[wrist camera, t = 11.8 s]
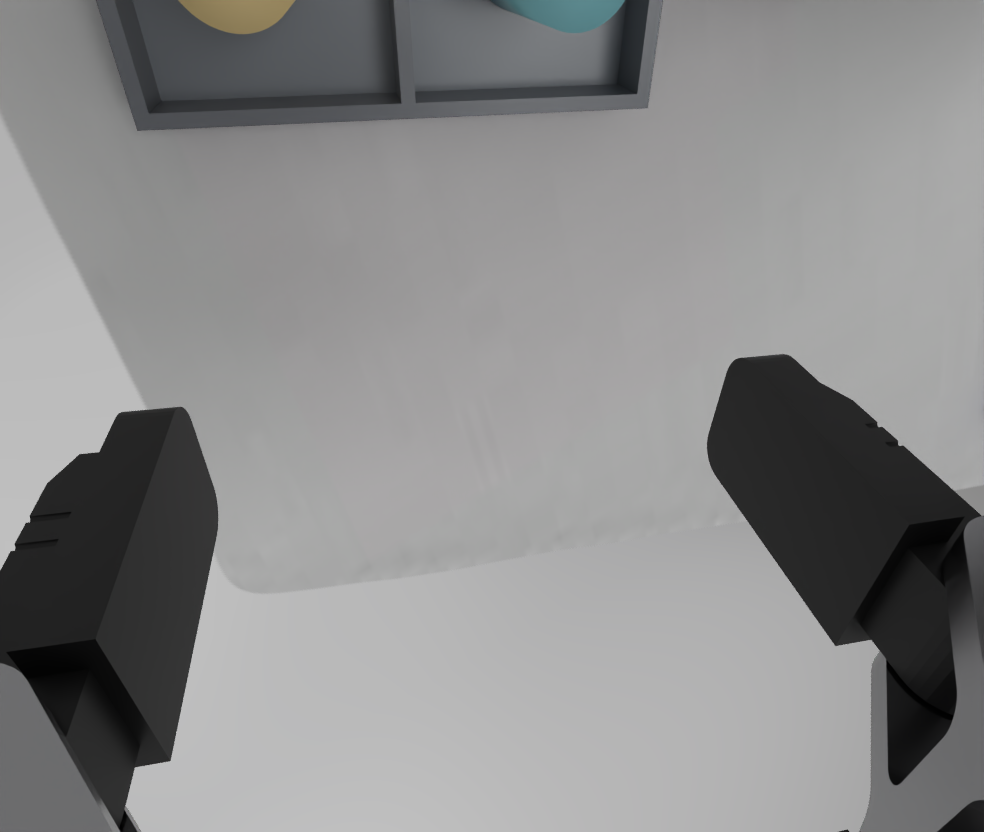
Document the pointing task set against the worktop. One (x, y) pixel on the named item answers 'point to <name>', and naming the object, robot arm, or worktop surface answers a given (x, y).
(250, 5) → the tan rounded cylinder
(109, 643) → the robot arm
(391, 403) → the worktop surface
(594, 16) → the teal rounded cylinder
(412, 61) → the grey divided tray
